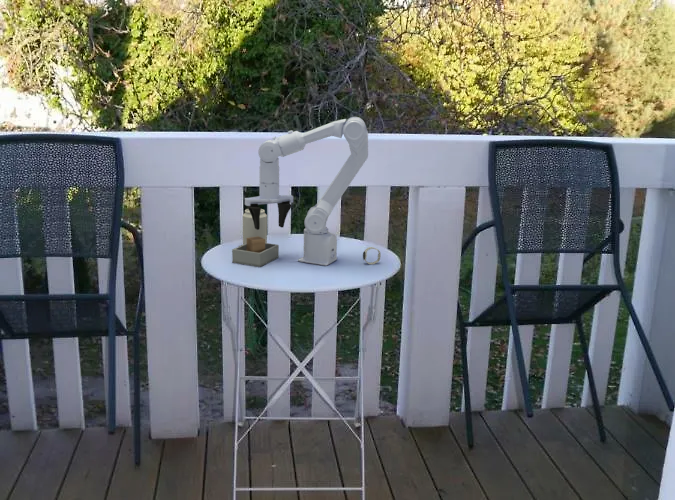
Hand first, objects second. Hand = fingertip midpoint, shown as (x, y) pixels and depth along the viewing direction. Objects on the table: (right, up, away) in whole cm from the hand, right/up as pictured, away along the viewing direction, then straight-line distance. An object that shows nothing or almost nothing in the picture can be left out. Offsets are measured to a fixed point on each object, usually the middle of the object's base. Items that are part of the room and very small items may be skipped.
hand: (269, 227), depth 215 cm
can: (-6, -6, +14) cm, 16 cm away
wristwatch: (+30, -11, 0) cm, 32 cm away
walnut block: (-4, -9, 0) cm, 10 cm away
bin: (-4, -10, 0) cm, 10 cm away
